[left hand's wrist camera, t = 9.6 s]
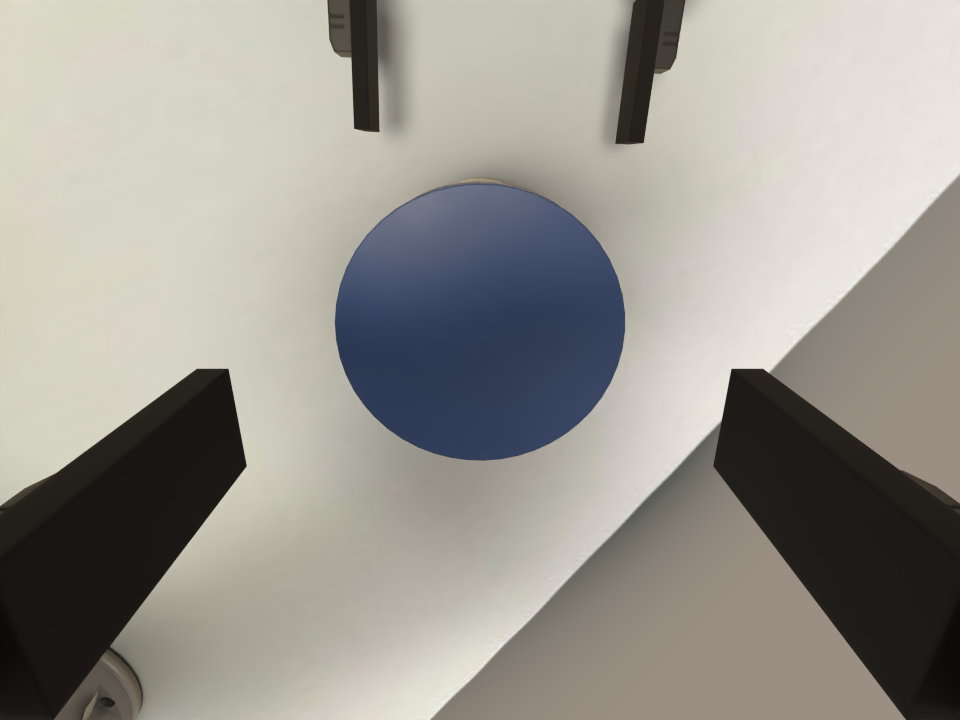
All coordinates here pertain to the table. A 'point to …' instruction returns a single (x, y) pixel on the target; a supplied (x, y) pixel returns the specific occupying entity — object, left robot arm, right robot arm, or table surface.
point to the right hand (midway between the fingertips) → (498, 138)
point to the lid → (480, 321)
